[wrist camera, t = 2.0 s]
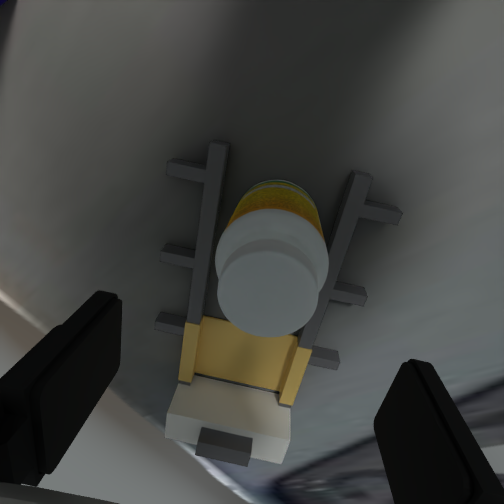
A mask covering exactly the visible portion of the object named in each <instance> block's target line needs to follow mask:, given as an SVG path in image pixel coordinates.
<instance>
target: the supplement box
mask: <svg viewBox="0 0 504 504" xmlns="http://www.w3.org/2000/svg"><path fill="white" fill-rule="evenodd" d="M7 1H8V0H0V7H1V6H2V5H3V4H4V3H5V2H7Z"/></svg>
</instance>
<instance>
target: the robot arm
mask: <svg viewBox="0 0 504 504" xmlns="http://www.w3.org/2000/svg"><path fill="white" fill-rule="evenodd" d="M121 325H122V300H120V299H118V296H117V294H114V293H109V292H105V291H100V290H99V291H97V292H95V293H94V294H93V295H92V296H91V297H90V298H89V299H88V300H87V301H86V302H85V303H84V304H83V305H82V306H81V307H80V308H79V309H78V310H77V311H76V312H75V313H74V314H73V315H71V316H70V317H69V318H68V319H67V320H66V321H65V322H64V323H63V324H62V325H58V326H56V327H55V328H53V329H52V330H51V331H50V332H49V333H48V334H47V335H46V336H45V337H44V338H43V339H42V340H41V341H40V342H39V343H37V344H36V345H35V346H34V347H33V348H32V349H31V350H30V351H29V352H28V353H27V354H26V355H25V356H24V357H23V358H22V359H20V360H19V361H18V362H17V363H16V364H15V365H14V366H13V367H12V368H11V369H10V370H9V371H8V372H7V373H6V374H5V375H4V376H2V377H1V378H0V504H118V503H114V502H109V501H104V500H100V499H95V498H90V497H84V496H80V495H74V494H69V493H64V492H59V491H54V490H49V489H44V488H39V487H37V486H38V484H39V483H40V481H41V479H42V478H43V476H44V475H45V474H51V473H52V472H53V471H54V469H55V468H56V467H57V465H58V464H59V462H60V460H61V459H62V457H63V456H64V454H65V453H66V451H67V449H68V448H69V446H70V445H71V443H72V442H73V440H74V438H75V437H76V435H77V434H78V432H79V431H80V429H81V428H82V426H83V424H84V423H85V421H86V420H87V418H88V416H89V415H90V414H91V412H92V410H93V409H94V407H95V406H96V404H97V402H98V401H99V399H100V398H101V396H102V395H103V393H104V392H105V390H106V388H107V387H108V385H109V384H110V382H111V381H112V379H113V378H114V376H115V374H116V373H117V371H118V368H119V365H120V353H121ZM374 431H375V435H376V439H377V442H378V446H379V449H380V453H381V456H382V460H383V464H384V467H385V471H386V474H387V478H388V482H389V485H390V489H391V492H392V496H393V500H394V503H395V504H504V488H503V487H502V485H501V483H500V481H499V480H498V478H497V476H496V475H495V473H494V471H493V469H492V468H491V466H490V464H489V463H488V461H487V459H486V457H485V456H484V454H483V452H482V450H481V449H480V447H479V445H478V443H477V442H476V440H475V438H474V436H473V435H472V433H471V431H470V429H469V428H468V426H467V424H466V423H465V421H464V419H463V417H462V416H461V414H460V412H459V410H458V409H457V407H456V405H455V403H454V402H453V400H452V398H451V397H450V395H449V393H448V391H447V390H446V388H445V386H444V384H443V383H442V381H441V379H440V377H439V376H438V374H437V372H436V371H435V369H434V367H433V366H432V364H431V363H429V362H424V361H420V360H415V359H410V360H408V362H404V363H403V364H402V365H401V367H400V369H399V371H398V373H397V375H396V377H395V379H394V381H393V383H392V385H391V387H390V389H389V391H388V393H387V395H386V397H385V399H384V401H383V402H382V404H381V406H380V408H379V410H378V412H377V414H376V416H375V419H374ZM21 484H27V485H31V486H25V485H21ZM32 486H35V487H32Z"/></svg>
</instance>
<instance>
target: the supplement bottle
mask: <svg viewBox="0 0 504 504" xmlns="http://www.w3.org/2000/svg"><path fill="white" fill-rule="evenodd" d="M215 267H216V272H217V276H218V279H219V281H218V288H217V297H218V302H219V305H220V308H221V310H222V312H223V313H224V315H225V316H226V318H227V319H228V320H229V321H230V322H231V323H232V324H233V325H235V326H236V327H237V328H239V329H240V330H242V331H244V332H246V333H249V334H252V335H255V336H260V337H280V336H284V335H288V334H291V333H293V332H295V331H297V330H298V329H300V328H302V327H303V326H304V325H305V324H306V323H307V322H308V321H309V320H310V319H311V317H312V316H313V314H314V312H315V310H316V307H317V303H318V295H319V292H320V290H321V289H322V287H323V285H324V283H325V281H326V278H327V274H328V268H329V258H328V252H327V248H326V244H325V240H324V236H323V232H322V228H321V224H320V220H319V215H318V211H317V208H316V205H315V203H314V201H313V200H312V198H311V197H310V195H309V194H308V193H307V192H306V191H304V190H303V189H302V188H301V187H299V186H297V185H296V184H294V183H291V182H289V181H285V180H267V181H263V182H260V183H258V184H256V185H254V186H253V187H252V188H250V189H249V190H248V191H247V192H246V193H245V194H244V195H243V197H242V198H241V200H240V201H239V203H238V205H237V207H236V209H235V211H234V213H233V215H232V217H231V218H230V221H229V223H228V225H227V226H226V228H225V230H224V232H223V233H222V235H221V238H220V240H219V243H218V246H217V249H216V255H215Z"/></svg>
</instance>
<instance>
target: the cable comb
mask: <svg viewBox="0 0 504 504" xmlns="http://www.w3.org/2000/svg"><path fill="white" fill-rule="evenodd" d="M229 147H230V143H226V142H221V141H217V140H213V141H211V142H209V150H208V158H207V165H202V164H197V163H193V162H188V161H184V160H179V159H174V158H173V159H171V160H169V161H168V162H167V170H166V175H168V176H173V177H178V178H182V179H187V180H191V181H196V182H201V183H204V189H203V197H202V204H201V212H200V220H199V228H198V235H197V243H196V250H192V249H187V248H183V247H178V246H174V245H169V244H166V245H165V246H164V247H163V249H162V250H161V251H160V262H165V263H169V264H174V265H178V266H183V267H187V268H192V269H193V274H192V282H191V290H190V298H189V305H188V313H187V318H186V317H181V316H177V315H172V314H168V313H163V312H160V314H159V316H158V317H157V319H156V321H155V330H159V331H163V332H167V333H172V334H176V335H181V336H184V337H183V345H182V353H181V361H180V369H179V376H178V380H179V383H178V386H177V388H176V391H175V394H174V396H173V399H172V401H171V404H170V406H169V409H168V412H167V418H166V427H165V436H164V437H165V438H168V439H172V440H176V441H181V442H185V443H190V444H194V445H197V448H196V453H195V455H197V456H202V457H206V458H211V459H215V460H220V461H224V462H228V463H233V464H237V465H242V466H246V467H247V466H248V463H249V459H250V457H251V458H256V459H260V460H265V461H269V462H273V463H278V464H282V461H283V459H284V456H285V453H286V451H287V448H288V446H289V443H290V408H291V405H293V403H294V400H295V397H296V394H297V391H298V389H299V386H300V383H301V380H302V378H303V375H304V372H305V369H306V367H307V364H311V365H315V366H320V367H324V368H329V369H333V370H337V369H338V366H339V364H340V360H339V355H338V351H334V350H330V349H325V348H321V347H316V346H313V344H314V341H315V338H316V336H317V333H318V330H319V327H320V324H321V322H322V319H323V316H324V313H325V311H326V308H327V305H328V302H329V299H332V300H336V301H341V302H346V303H350V304H355V305H359V306H364V304H365V302H366V300H367V297H368V296H367V294H366V291H365V289H364V287H360V286H355V285H351V284H346V283H342V282H337V281H336V280H337V277H338V274H339V272H340V269H341V266H342V263H343V260H344V258H345V255H346V252H347V249H348V247H349V244H350V241H351V238H352V235H353V233H354V230H355V227H356V224H357V221H358V219H359V217H361V218H365V219H370V220H375V221H379V222H384V223H388V224H393V225H398V223H399V221H400V219H401V216H402V214H403V213H402V212H401V211H400V210H399V209H398V208H397V207H395V206H390V205H386V204H381V203H377V202H372V201H367V200H365V199H366V196H367V194H368V191H369V188H370V185H371V182H372V180H373V177H372V176H371V175H370V174H369V173H364V172H360V171H355V170H352V172H351V175H350V178H349V181H348V184H347V187H346V190H345V193H344V196H343V199H342V203H341V206H340V209H339V212H338V215H337V218H336V221H335V224H334V227H333V230H332V233H331V236H330V239H329V242H328V245H327V252H328V258H329V268H328V274H327V278H326V281H325V283H324V285H323V287H322V289H321V290H320V292H319V295H318V303H317V307H316V310H315V312H314V314H313V316H312V317H311V319H310V320H309V321H308V322H307V323H306V324H305V325H304V326H303V327H302V328H300V331H299V334H298V336H295V335H290V334H288V335H284V336H280V337H260V336H255V335H252V334H249V333H246V332H244V331H242V330H240V329H239V328H237V327H236V326H235V325H233V324H232V323H231V322H230V321H228V320H223V319H219V318H214V317H210V316H205V315H203V314H204V308H205V301H206V295H207V288H208V282H209V275H210V269H211V263H212V256H213V250H214V243H215V237H216V231H217V224H218V218H219V211H220V205H221V198H222V192H223V186H224V179H225V173H226V166H227V160H228V154H229ZM194 373H200V374H204V375H209V376H213V377H218V378H222V379H227V380H231V381H236V382H240V383H245V384H249V385H253V386H258V387H262V388H267V389H271V390H276V391H280V392H279V394H277V393H272V392H268V391H263V390H259V389H254V388H250V387H245V386H241V385H236V384H232V383H228V382H223V381H219V380H214V379H210V378H205V377H201V376H196V375H194Z"/></svg>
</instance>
